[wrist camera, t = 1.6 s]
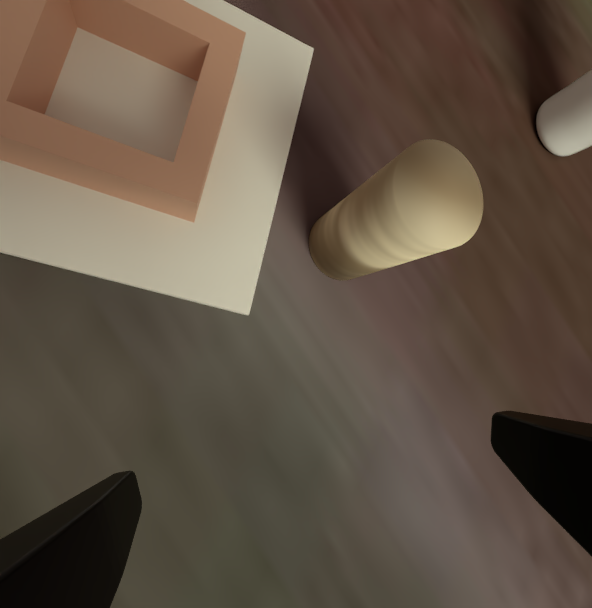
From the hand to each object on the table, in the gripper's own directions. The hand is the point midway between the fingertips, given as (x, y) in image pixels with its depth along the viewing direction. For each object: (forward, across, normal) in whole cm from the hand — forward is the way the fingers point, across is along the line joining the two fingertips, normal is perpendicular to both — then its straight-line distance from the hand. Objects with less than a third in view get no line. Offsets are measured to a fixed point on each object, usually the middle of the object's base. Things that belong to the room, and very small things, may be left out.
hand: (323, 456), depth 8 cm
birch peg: (+15, +4, +4) cm, 16 cm away
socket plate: (+14, -7, +12) cm, 20 cm away
